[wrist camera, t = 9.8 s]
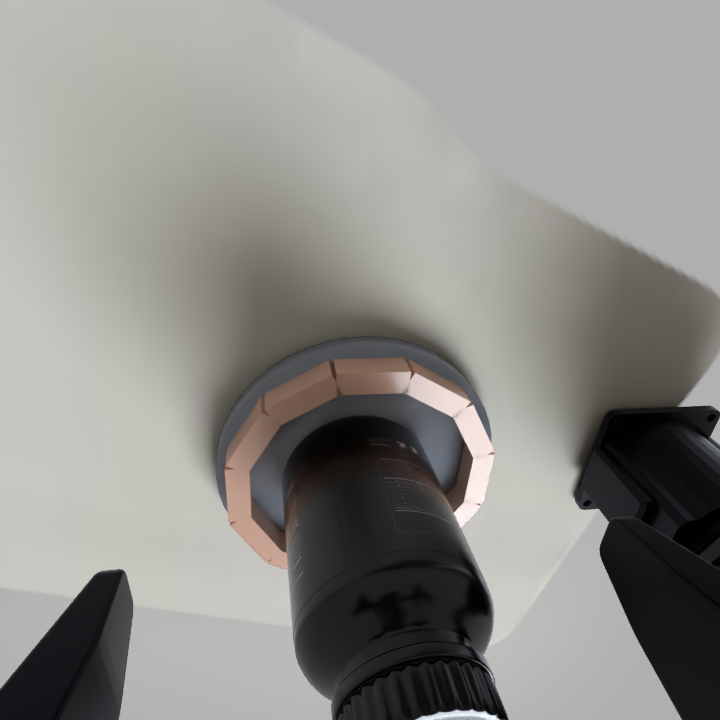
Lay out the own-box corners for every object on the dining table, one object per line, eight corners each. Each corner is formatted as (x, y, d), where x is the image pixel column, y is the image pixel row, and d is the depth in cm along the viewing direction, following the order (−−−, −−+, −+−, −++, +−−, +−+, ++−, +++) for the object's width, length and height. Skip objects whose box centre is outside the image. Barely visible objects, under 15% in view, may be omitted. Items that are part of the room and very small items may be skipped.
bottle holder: (507, 334, 23) (529, 358, 21) (461, 539, 30) (474, 572, 28) (208, 338, 21) (202, 365, 19) (225, 560, 27) (223, 596, 25)
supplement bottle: (365, 539, 27) (432, 835, 16) (252, 489, 24) (246, 809, 14) (455, 448, 25) (594, 720, 14) (343, 382, 22) (416, 662, 12)
